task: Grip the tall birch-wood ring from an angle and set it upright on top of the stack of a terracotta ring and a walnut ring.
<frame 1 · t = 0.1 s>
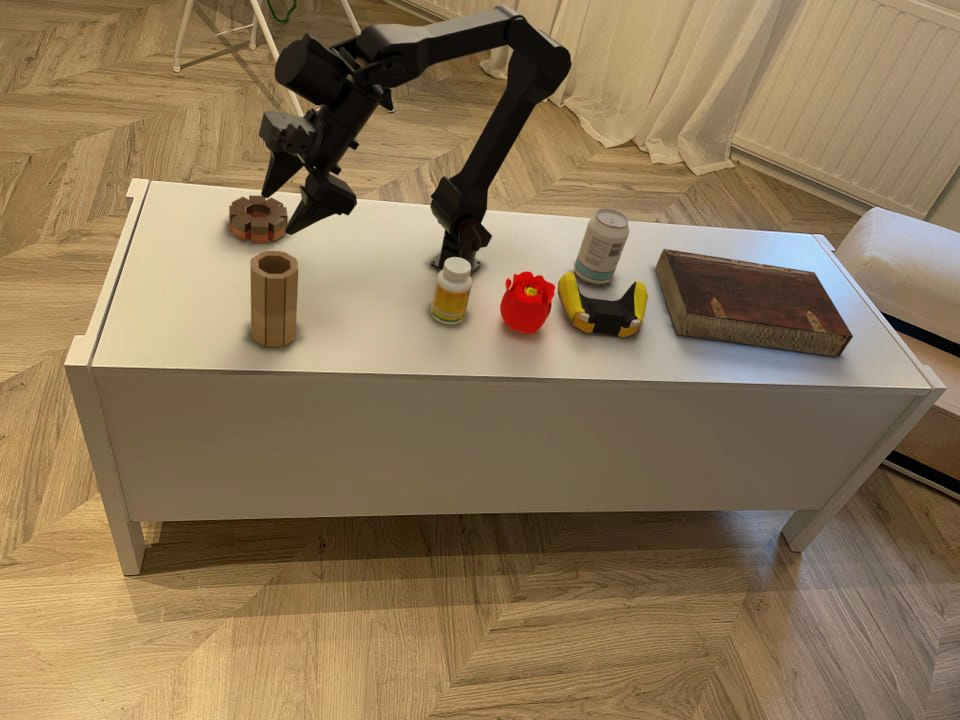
hand: (275, 214, 105), 15 cm above the table, tool tilted 35°, fingers open, 9 cm apart
supplement bottle: (447, 315, 120), on the table
ring stack: (258, 227, 128), on the table
tall ring: (273, 332, 110), on the table
flower: (520, 326, 122), on the table
beverage can: (591, 276, 136), on the table
gaming controller: (599, 319, 127), on the table
book: (742, 312, 136), on the table
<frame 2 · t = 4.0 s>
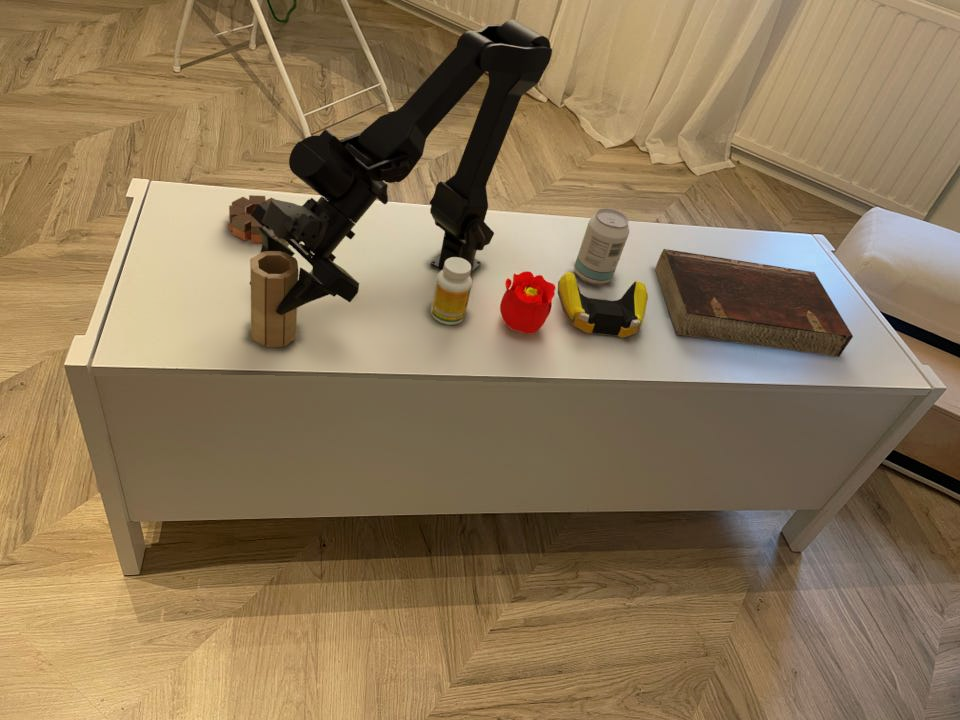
hand: (264, 299, 105), 7 cm above the table, tool tilted 45°, fingers closed on tall ring, 6 cm apart
tall ring: (273, 333, 110), on the table, touching gripper
everything else where it was.
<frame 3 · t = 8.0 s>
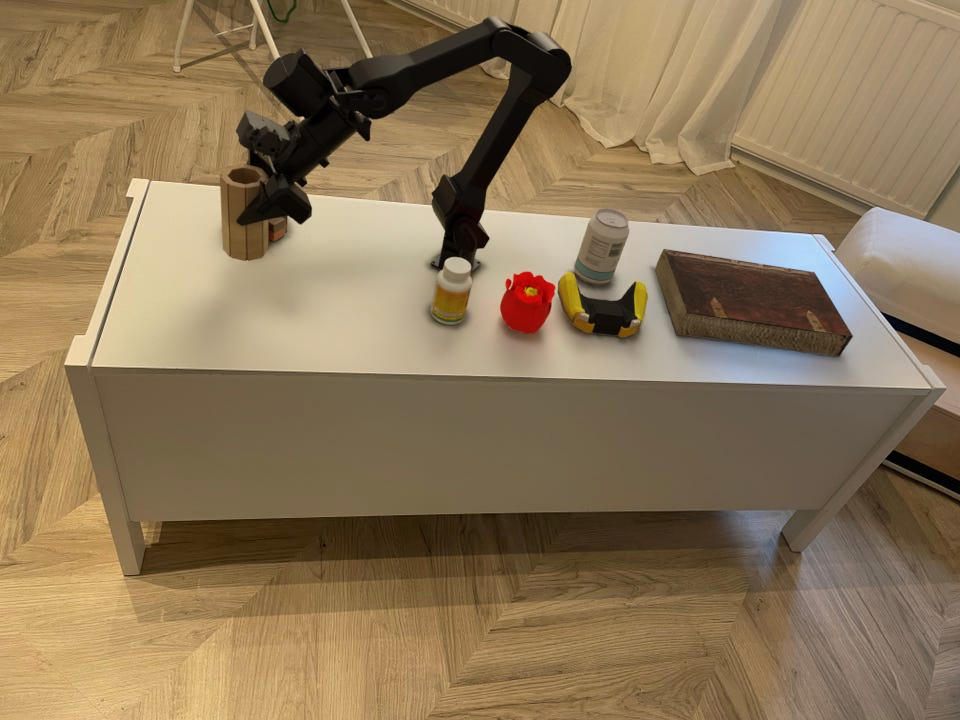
hand: (234, 210, 108), 12 cm above the table, tool tilted 45°, fingers closed on tall ring, 6 cm apart
tall ring: (245, 248, 113), point 6 cm above the table, touching gripper
everything else where it was.
when the fingers open (10 cm above the table, at t = 12.1 s): tall ring stays where it is, resting on ring stack.
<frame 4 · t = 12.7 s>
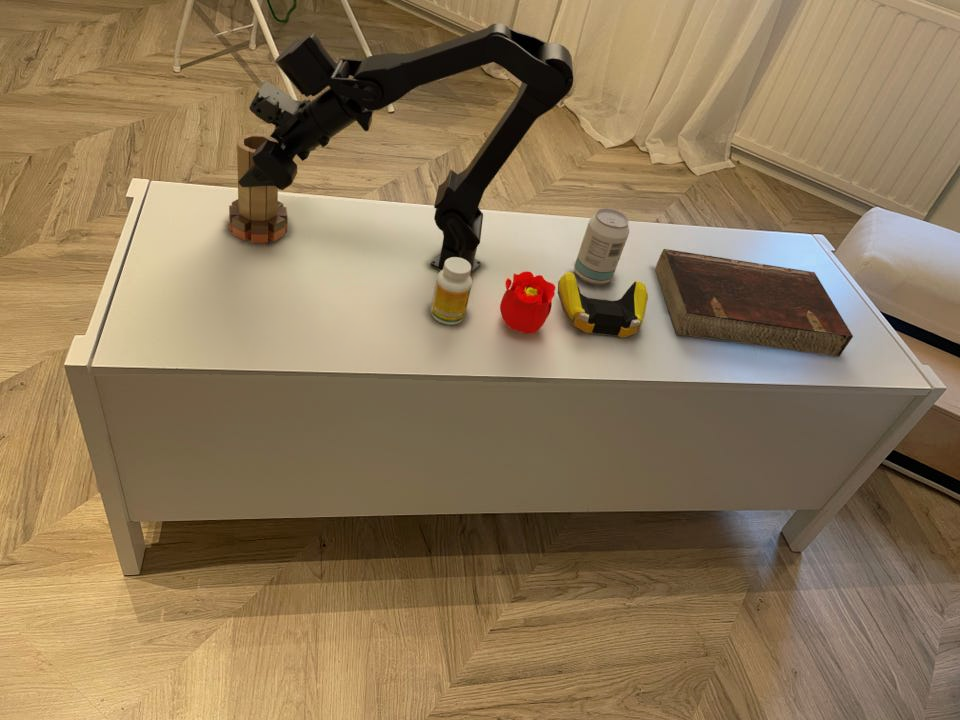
hand: (249, 169, 121), 10 cm above the table, tool tilted 45°, fingers open, 9 cm apart
tall ring: (257, 210, 125), point 3 cm above the table, touching ring stack
everything else where it was.
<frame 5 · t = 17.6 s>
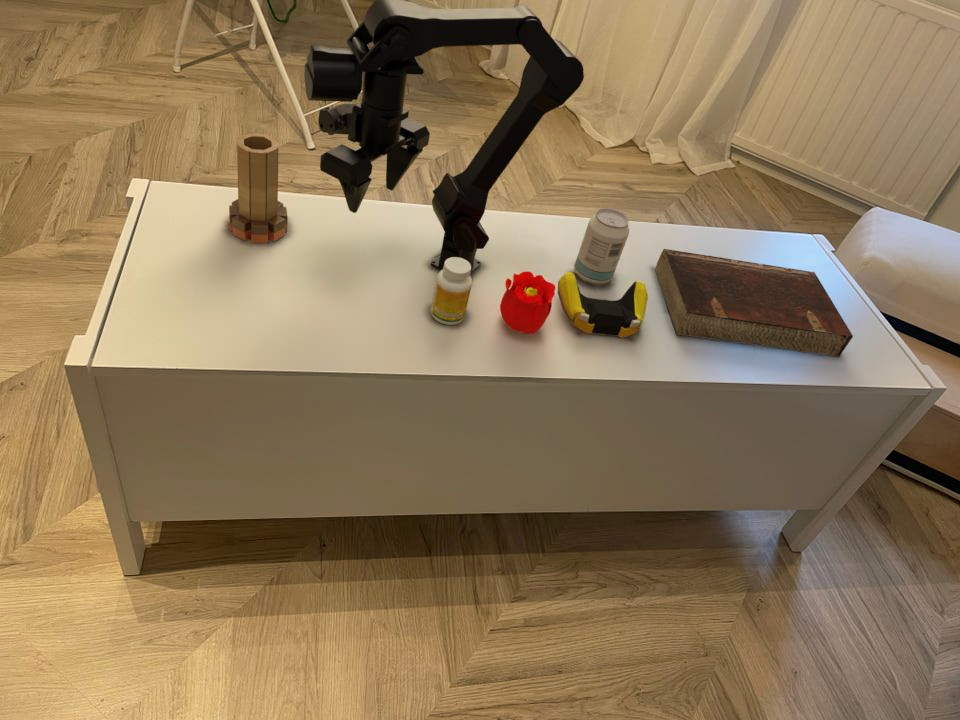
hand: (371, 200, 116), 13 cm above the table, tool pointing down, fingers open, 9 cm apart
nothing on the table moved.
at the end: tall ring 0.1 cm off-centre on the ring stack, point 3.2 cm above the ring stack's base; tall ring tilted 0°; the gripper is holding nothing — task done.
